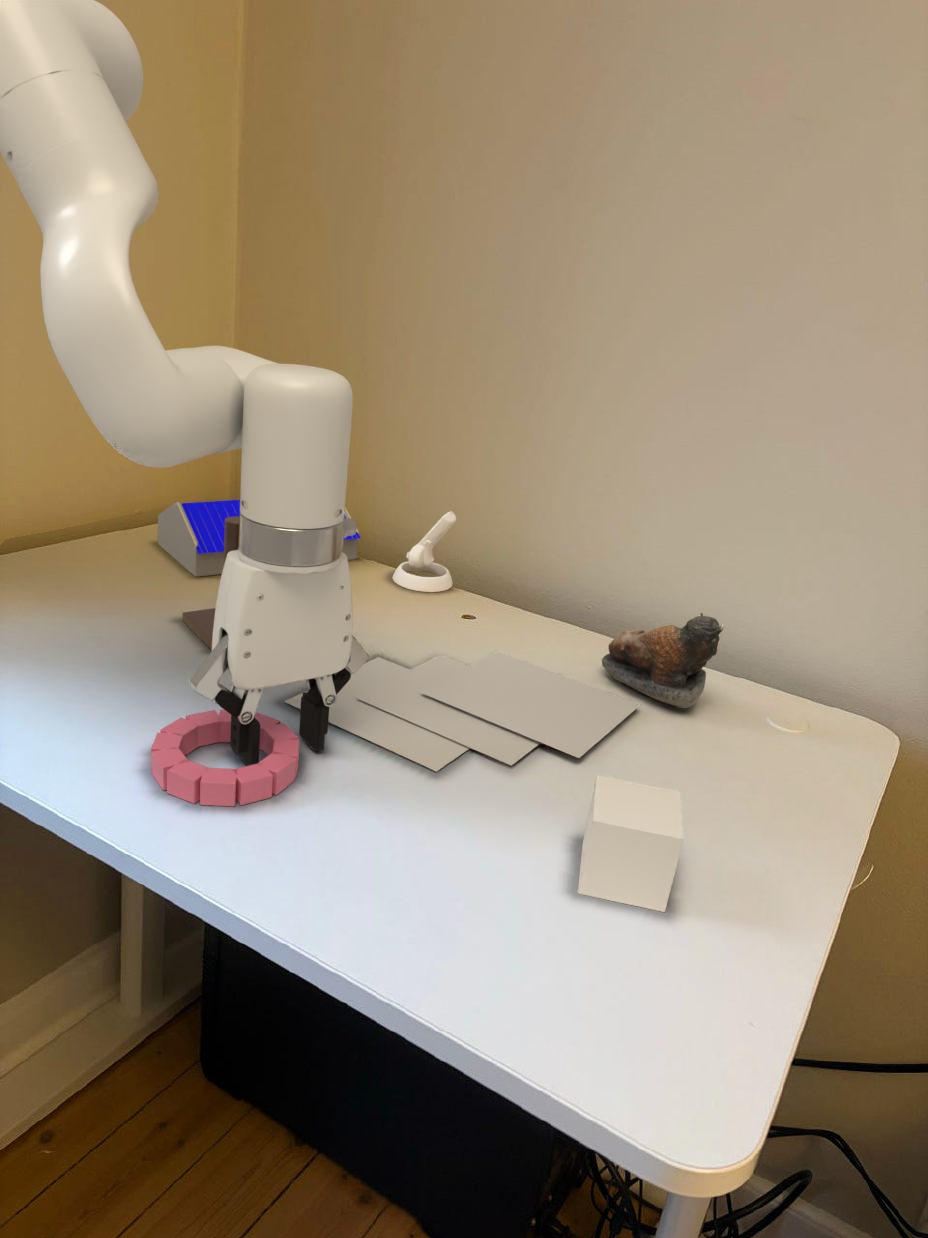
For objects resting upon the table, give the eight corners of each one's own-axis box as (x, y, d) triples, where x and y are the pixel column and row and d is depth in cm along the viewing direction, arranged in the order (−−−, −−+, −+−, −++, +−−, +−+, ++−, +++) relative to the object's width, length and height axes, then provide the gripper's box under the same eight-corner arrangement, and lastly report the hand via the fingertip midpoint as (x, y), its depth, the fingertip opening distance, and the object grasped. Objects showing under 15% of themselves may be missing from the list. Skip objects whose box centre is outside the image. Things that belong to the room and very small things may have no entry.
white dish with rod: (475, 567, 108) (430, 526, 107) (419, 622, 115) (378, 584, 115) (496, 539, 114) (454, 500, 113) (442, 593, 121) (402, 557, 121)
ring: (184, 821, 65) (184, 797, 64) (132, 747, 73) (132, 725, 72) (322, 784, 72) (324, 762, 71) (261, 720, 79) (262, 700, 79)
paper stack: (524, 812, 71) (525, 804, 71) (284, 702, 83) (284, 695, 82) (639, 710, 90) (641, 704, 90) (430, 632, 101) (431, 626, 101)
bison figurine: (586, 676, 96) (603, 586, 92) (629, 663, 101) (647, 577, 97) (679, 726, 88) (702, 630, 84) (720, 709, 93) (744, 618, 89)
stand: (212, 651, 91) (214, 535, 86) (182, 620, 96) (183, 510, 92) (285, 639, 95) (292, 528, 91) (253, 611, 101) (257, 506, 97)
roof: (197, 578, 108) (198, 518, 105) (155, 542, 118) (155, 486, 115) (359, 560, 121) (364, 506, 118) (309, 528, 131) (312, 478, 128)
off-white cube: (582, 843, 69) (596, 774, 66) (662, 860, 68) (679, 791, 66) (577, 894, 63) (592, 820, 61) (665, 913, 62) (683, 839, 60)
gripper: (364, 515, 76) (347, 710, 82) (158, 531, 66) (158, 751, 72) (414, 544, 70) (392, 750, 77) (198, 566, 60) (195, 800, 67)
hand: (279, 748), depth 75 cm, fingers open, 5 cm apart
